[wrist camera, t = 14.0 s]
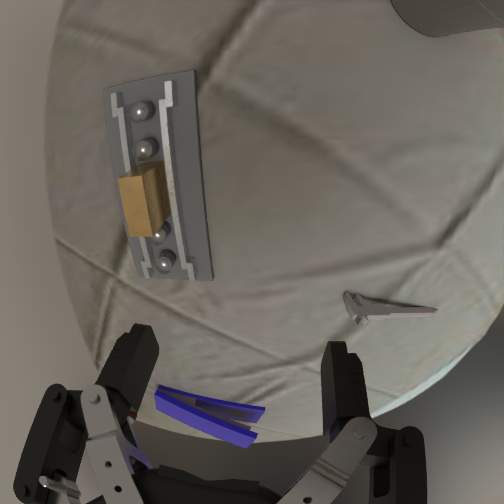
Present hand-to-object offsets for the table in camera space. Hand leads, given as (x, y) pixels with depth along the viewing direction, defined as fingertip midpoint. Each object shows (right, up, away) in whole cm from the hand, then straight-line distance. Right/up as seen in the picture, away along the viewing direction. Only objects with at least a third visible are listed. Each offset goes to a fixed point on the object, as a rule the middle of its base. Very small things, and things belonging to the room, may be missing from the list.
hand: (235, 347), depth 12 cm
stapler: (-10, -36, +52) cm, 64 cm away
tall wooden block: (-11, +12, +20) cm, 26 cm away
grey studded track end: (-11, +7, +24) cm, 27 cm away
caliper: (+25, -4, +29) cm, 38 cm away
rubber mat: (-11, +12, +21) cm, 27 cm away
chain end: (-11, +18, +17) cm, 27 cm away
